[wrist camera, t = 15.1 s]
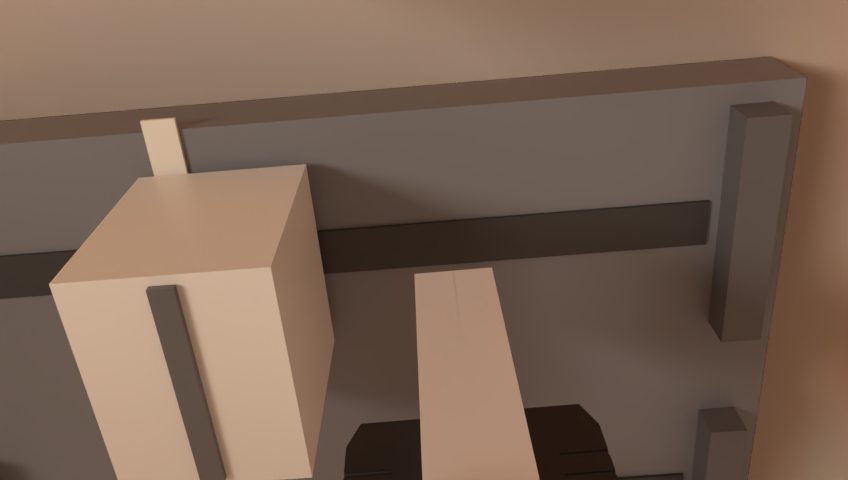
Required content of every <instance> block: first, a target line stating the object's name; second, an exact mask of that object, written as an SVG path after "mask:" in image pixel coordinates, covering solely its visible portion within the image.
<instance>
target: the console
mask: <svg viewBox="0 0 848 480" xmlns="http://www.w3.org/2000/svg"><path fill="white" fill-rule="evenodd" d="M806 83H807V77H805V76H804V75H802V74H800V73H798V72H797V71H795V70H793V69H791V68H790V67H788V66H786V65H784V64H783V63H781V62H779V61H777V60H776V59H774V58H772V57H762V58H750V59H738V60H726V61H714V62H702V63H690V64H678V65H666V66H654V67H642V68H630V69H618V70H606V71H594V72H582V73H570V74H558V75H546V76H534V77H522V78H510V79H498V80H486V81H474V82H462V83H450V84H438V85H426V86H414V87H402V88H390V89H378V90H366V91H354V92H342V93H330V94H319V95H307V96H295V97H283V98H271V99H259V100H247V101H235V102H223V103H211V104H199V105H187V106H175V107H163V108H151V109H139V110H127V111H115V112H103V113H91V114H79V115H67V116H55V117H43V118H31V119H19V120H7V121H0V480H118V479H117V476H116V473H115V470H114V468H113V465H112V462H111V459H110V456H109V453H108V451H107V448H106V445H105V442H104V439H103V436H102V434H101V431H100V428H99V425H98V422H97V419H96V417H95V414H94V411H93V408H92V405H91V402H90V400H89V397H88V394H87V391H86V388H85V385H84V383H83V380H82V377H81V374H80V371H79V368H78V366H77V363H76V360H75V357H74V354H73V351H72V349H71V346H70V343H69V340H68V337H67V334H66V332H65V329H64V326H63V323H62V320H61V317H60V315H59V312H58V309H57V306H56V303H55V300H54V298H53V295H52V292H51V289H50V286H49V283H50V282H51V281H52V280H53V279H54V277H55V276H56V275H57V274H58V273H59V272H60V270H61V269H62V268H63V267H64V266H65V264H66V263H67V262H68V261H69V260H70V258H71V257H72V256H73V255H74V254H75V253H76V251H77V250H78V249H79V248H80V247H81V245H82V244H83V243H84V242H85V241H86V239H87V238H88V237H89V236H90V235H91V234H92V232H93V231H94V230H95V229H96V228H97V226H98V225H99V224H100V223H101V222H102V221H103V219H104V218H105V217H106V216H107V215H108V213H109V212H110V211H111V210H112V209H113V207H114V206H115V205H116V204H117V203H118V202H119V200H120V199H121V198H122V197H123V196H124V194H125V193H126V192H127V191H128V190H129V189H130V187H131V186H132V185H133V184H134V183H135V181H136V180H137V179H138V178H141V177H153V176H166V175H178V174H190V173H203V172H215V171H227V170H240V169H252V168H264V167H277V166H289V165H301V164H306V167H307V173H308V179H309V185H310V192H311V198H312V204H313V210H314V216H315V222H316V229H317V235H318V241H319V247H320V253H321V259H322V266H323V272H324V278H325V284H326V290H327V296H328V303H329V309H330V315H331V321H332V327H333V333H334V346H333V352H332V359H331V365H330V371H329V377H328V383H327V389H326V396H325V402H324V408H323V414H322V420H321V426H320V433H319V439H318V445H317V451H316V457H315V463H314V470H313V476H312V478H298V479H284V480H343V478H344V467H345V455H346V447H347V445H348V443H349V442H350V440H351V439H352V437H353V435H354V434H355V432H356V431H357V429H358V428H359V426H360V424H363V423H376V422H388V421H400V420H412V419H420V404H419V379H418V353H417V328H416V302H415V277H414V274H420V273H432V272H443V271H455V270H467V269H479V268H491V267H492V270H493V275H494V279H495V284H496V288H497V292H498V297H499V301H500V306H501V310H502V315H503V319H504V324H505V328H506V332H507V337H508V341H509V346H510V350H511V355H512V359H513V363H514V368H515V372H516V377H517V381H518V386H519V390H520V395H521V399H522V403H523V408H534V407H546V406H558V405H570V404H580V405H581V406H582V407H583V408H584V409H585V410H586V411H587V412H588V413H589V414H590V415H591V416H592V417H593V418H594V419H595V420H596V421H597V422H598V423H599V425H600V428H601V430H602V433H603V436H604V439H605V442H606V445H607V447H608V453H609V454H610V456H611V459H612V462H613V465H614V467H615V472H616V475H617V476H618V479H619V480H748V473H749V467H750V460H751V453H752V446H753V440H754V433H755V426H756V420H757V413H758V406H759V399H760V393H761V386H762V379H763V372H764V366H765V359H766V352H767V345H768V339H769V332H770V325H771V319H772V312H773V305H774V298H775V292H776V285H777V278H778V271H779V265H780V258H781V251H782V245H783V238H784V231H785V224H786V218H787V211H788V204H789V197H790V191H791V184H792V177H793V170H794V164H795V157H796V150H797V144H798V137H799V130H800V123H801V117H802V110H803V103H804V96H805V90H806Z"/></svg>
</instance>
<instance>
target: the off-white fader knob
mask: <svg viewBox="0 0 848 480" xmlns="http://www.w3.org/2000/svg"><path fill="white" fill-rule="evenodd" d="M49 286H50V289H51V292H52V295H53V298H54V300H55V303H56V306H57V309H58V312H59V315H60V317H61V320H62V323H63V326H64V329H65V332H66V334H67V337H68V340H69V343H70V346H71V349H72V351H73V354H74V357H75V360H76V363H77V366H78V368H79V371H80V374H81V377H82V380H83V383H84V385H85V388H86V391H87V394H88V397H89V400H90V402H91V405H92V408H93V411H94V414H95V417H96V419H97V422H98V425H99V428H100V431H101V434H102V436H103V439H104V442H105V445H106V448H107V451H108V453H109V456H110V459H111V462H112V465H113V468H114V470H115V473H116V476H117V479H118V480H284V479H298V478H312V476H313V470H314V463H315V457H316V451H317V445H318V439H319V433H320V426H321V420H322V414H323V408H324V402H325V396H326V389H327V383H328V377H329V371H330V365H331V359H332V352H333V346H334V333H333V327H332V321H331V315H330V309H329V303H328V296H327V290H326V284H325V278H324V272H323V266H322V259H321V253H320V247H319V241H318V235H317V229H316V222H315V216H314V210H313V204H312V198H311V192H310V185H309V179H308V173H307V167H306V164H301V165H289V166H277V167H264V168H252V169H240V170H227V171H215V172H203V173H190V174H178V175H166V176H153V177H141V178H138V179H137V180H136V181H135V183H134V184H133V185H132V186H131V187H130V189H129V190H128V191H127V192H126V193H125V194H124V196H123V197H122V198H121V199H120V200H119V202H118V203H117V204H116V205H115V206H114V207H113V209H112V210H111V211H110V212H109V213H108V215H107V216H106V217H105V218H104V219H103V221H102V222H101V223H100V224H99V225H98V226H97V228H96V229H95V230H94V231H93V232H92V234H91V235H90V236H89V237H88V238H87V239H86V241H85V242H84V243H83V244H82V245H81V247H80V248H79V249H78V250H77V251H76V253H75V254H74V255H73V256H72V257H71V258H70V260H69V261H68V262H67V263H66V264H65V266H64V267H63V268H62V269H61V270H60V272H59V273H58V274H57V275H56V276H55V277H54V279H53V280H52V281H51V282H50V283H49Z"/></svg>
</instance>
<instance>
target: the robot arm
mask: <svg viewBox="0 0 848 480" xmlns="http://www.w3.org/2000/svg"><path fill="white" fill-rule="evenodd" d="M414 277H415V302H416V328H417V353H418V379H419V404H420V419H412V420H400V421H388V422H376V423H363V424H360V426H359V428H358V429H357V431H356V432H355V434H354V435H353V437H352V439H351V440H350V442H349V443H348V445H347V447H346V455H345V467H344V478H343V480H619V479H618V476H617V475H616V472H615V467H614V465H613V462H612V459H611V456H610V454H609V453H608V447H607V445H606V442H605V439H604V436H603V433H602V430H601V428H600V425H599V423H598V422H597V421H596V420H595V419H594V418H593V417H592V416H591V415H590V414H589V413H588V412H587V411H586V410H585V409H584V408H583V407H582V406H581V405H580V404H570V405H558V406H546V407H534V408H523V403H522V399H521V395H520V390H519V386H518V381H517V377H516V372H515V368H514V363H513V359H512V355H511V350H510V346H509V341H508V337H507V332H506V328H505V324H504V319H503V315H502V310H501V306H500V301H499V297H498V292H497V288H496V284H495V279H494V275H493V270H492V267H491V268H479V269H467V270H455V271H443V272H432V273H420V274H414Z"/></svg>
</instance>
